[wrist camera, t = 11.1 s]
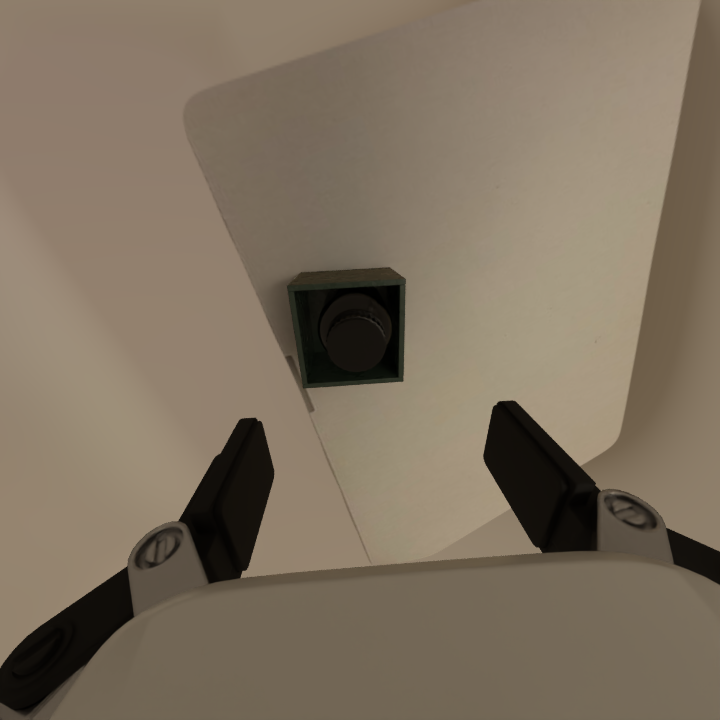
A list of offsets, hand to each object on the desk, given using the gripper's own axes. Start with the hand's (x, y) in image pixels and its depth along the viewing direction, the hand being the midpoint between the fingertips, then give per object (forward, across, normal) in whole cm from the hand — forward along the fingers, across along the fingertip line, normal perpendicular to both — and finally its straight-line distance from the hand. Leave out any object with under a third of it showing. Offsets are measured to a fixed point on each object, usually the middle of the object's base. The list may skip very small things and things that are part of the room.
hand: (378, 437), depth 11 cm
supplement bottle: (+23, 0, +1) cm, 23 cm away
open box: (+23, +1, +2) cm, 23 cm away
